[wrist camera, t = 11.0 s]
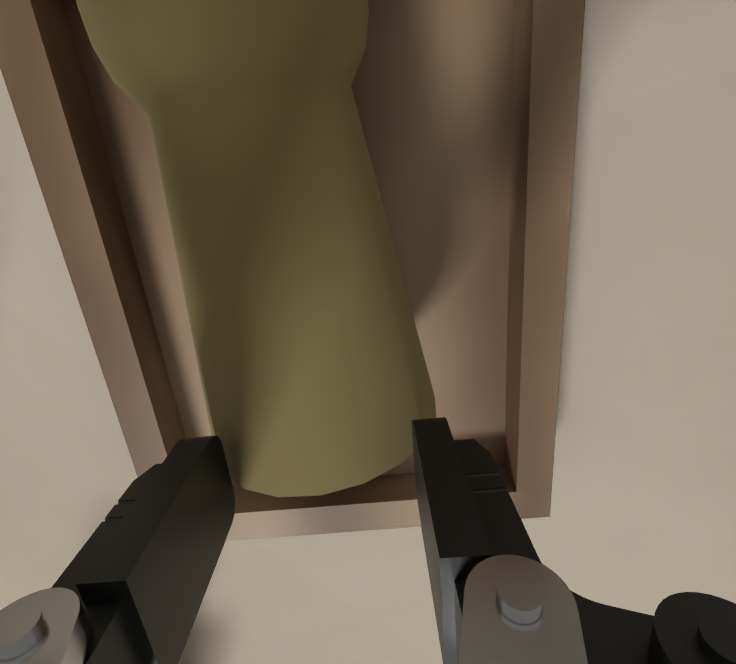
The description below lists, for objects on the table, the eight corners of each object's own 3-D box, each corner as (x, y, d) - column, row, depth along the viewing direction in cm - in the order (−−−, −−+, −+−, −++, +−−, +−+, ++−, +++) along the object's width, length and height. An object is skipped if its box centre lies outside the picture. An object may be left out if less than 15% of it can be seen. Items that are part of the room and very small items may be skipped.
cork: (243, 379, 15) (121, -13, 10) (417, 350, 14) (366, -57, 10) (179, 517, 9) (-143, -211, 5) (463, 472, 9) (391, -315, 5)
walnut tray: (549, -92, 11) (596, -161, 9) (525, 472, 17) (549, 516, 15) (30, -33, 12) (-52, -85, 9) (187, 498, 18) (160, 545, 15)
